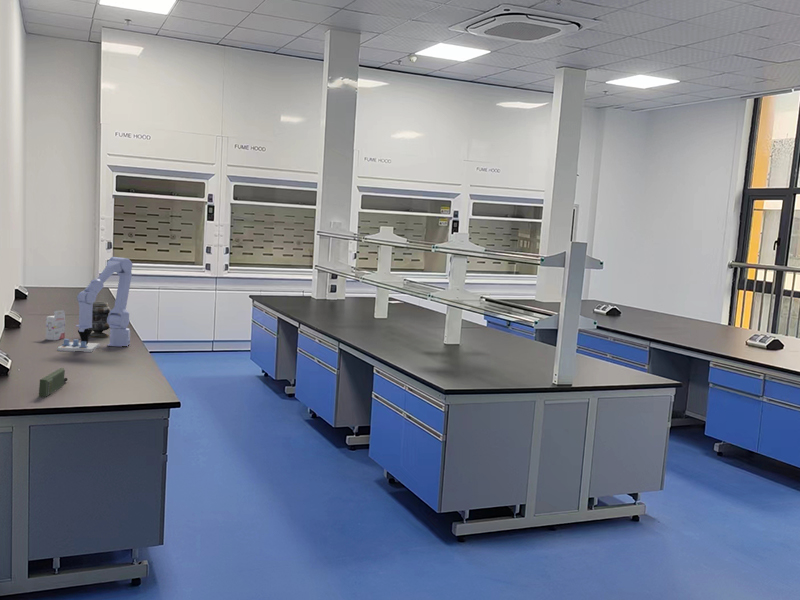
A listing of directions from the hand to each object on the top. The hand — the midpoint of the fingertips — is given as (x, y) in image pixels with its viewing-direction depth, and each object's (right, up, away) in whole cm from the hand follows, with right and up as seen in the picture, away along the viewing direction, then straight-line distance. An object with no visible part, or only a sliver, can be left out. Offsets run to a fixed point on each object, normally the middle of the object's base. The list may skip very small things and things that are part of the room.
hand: (84, 344), depth 345 cm
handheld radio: (+23, -12, -78) cm, 82 cm away
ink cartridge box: (-25, +1, +23) cm, 34 cm away
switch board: (-3, -2, +2) cm, 5 cm away
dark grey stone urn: (-11, +2, +41) cm, 43 cm away
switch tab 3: (0, -1, -2) cm, 2 cm away
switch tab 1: (-9, 0, 0) cm, 9 cm away
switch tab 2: (-4, 0, +1) cm, 4 cm away
